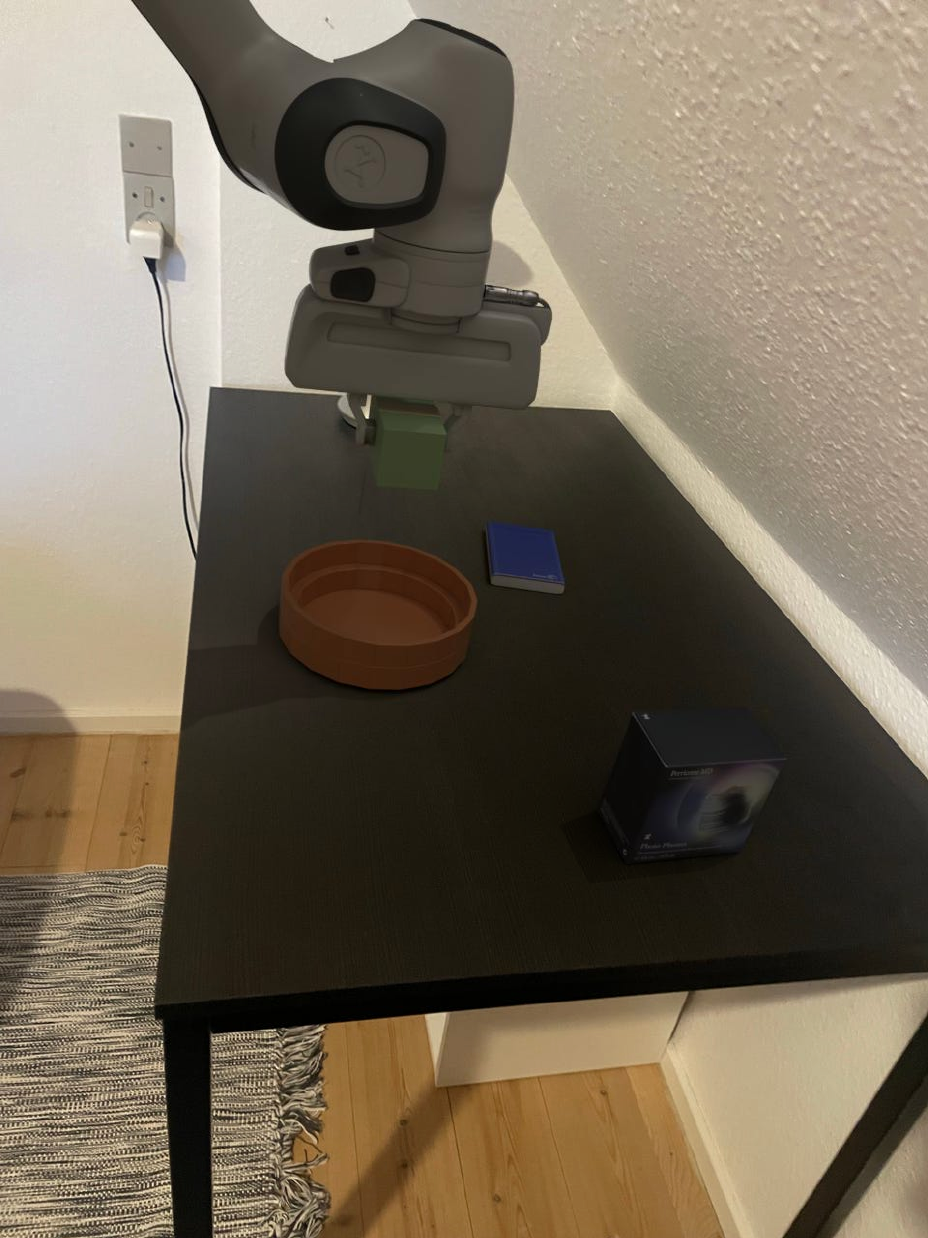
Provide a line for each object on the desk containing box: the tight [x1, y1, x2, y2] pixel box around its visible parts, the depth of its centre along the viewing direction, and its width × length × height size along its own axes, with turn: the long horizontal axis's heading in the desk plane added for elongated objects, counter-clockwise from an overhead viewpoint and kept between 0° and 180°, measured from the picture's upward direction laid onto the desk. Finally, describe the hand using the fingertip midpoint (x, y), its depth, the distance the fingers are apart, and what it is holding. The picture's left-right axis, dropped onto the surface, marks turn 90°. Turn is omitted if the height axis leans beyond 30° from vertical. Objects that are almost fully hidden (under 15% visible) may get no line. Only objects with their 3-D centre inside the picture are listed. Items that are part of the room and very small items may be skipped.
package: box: [366, 395, 447, 492], centre depth 78 cm, size 5×9×5 cm, turn 10°
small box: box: [595, 705, 787, 865], centre depth 73 cm, size 11×6×10 cm, turn 105°
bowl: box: [278, 538, 478, 691], centre depth 90 cm, size 18×18×6 cm
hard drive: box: [485, 521, 566, 595], centre depth 109 cm, size 2×8×12 cm
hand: (402, 446), depth 79 cm, fingers closed on package, 5 cm apart
